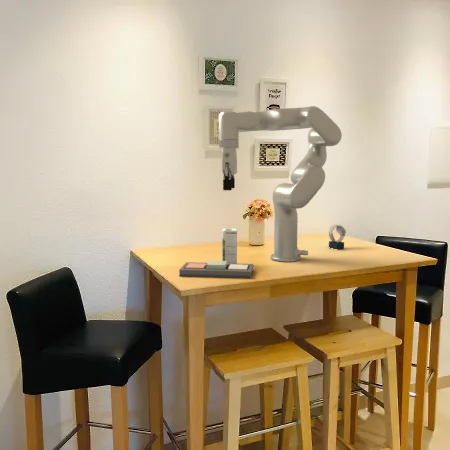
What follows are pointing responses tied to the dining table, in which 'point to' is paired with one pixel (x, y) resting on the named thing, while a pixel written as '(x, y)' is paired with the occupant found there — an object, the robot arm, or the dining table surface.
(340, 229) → the watch
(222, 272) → the keypad board
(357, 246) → the dining table surface
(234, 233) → the syrup box
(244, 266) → the cream key
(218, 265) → the sage key
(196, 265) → the terracotta key
